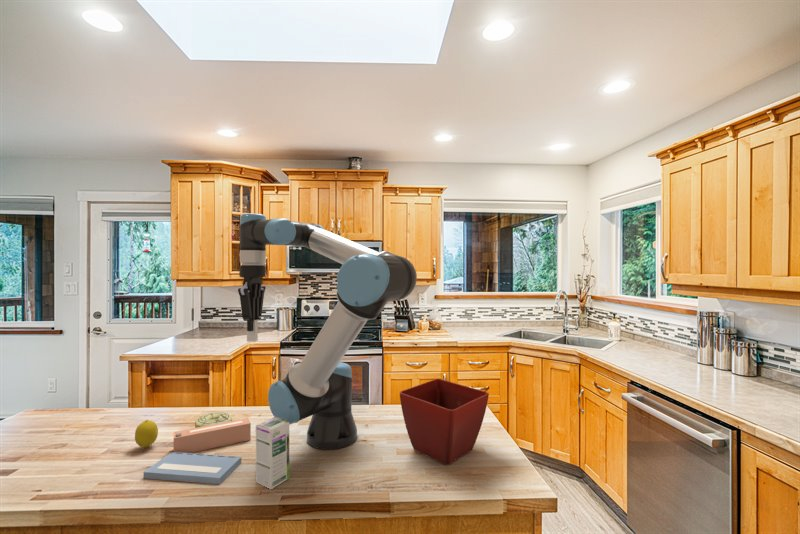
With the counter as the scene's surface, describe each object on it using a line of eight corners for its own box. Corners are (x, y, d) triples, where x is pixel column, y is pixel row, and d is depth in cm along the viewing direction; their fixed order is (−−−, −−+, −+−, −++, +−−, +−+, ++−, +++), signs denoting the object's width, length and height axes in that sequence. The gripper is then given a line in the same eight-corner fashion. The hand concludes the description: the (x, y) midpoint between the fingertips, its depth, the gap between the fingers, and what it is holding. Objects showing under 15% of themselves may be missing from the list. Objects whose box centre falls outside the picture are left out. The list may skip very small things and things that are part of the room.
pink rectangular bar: (248, 433, 118) (248, 416, 118) (250, 439, 114) (250, 422, 114) (173, 449, 108) (173, 430, 108) (173, 456, 104) (173, 437, 104)
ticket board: (241, 462, 101) (241, 456, 101) (219, 484, 91) (219, 477, 91) (172, 457, 103) (172, 451, 103) (143, 478, 93) (143, 471, 93)
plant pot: (489, 449, 110) (490, 392, 110) (451, 476, 96) (452, 410, 96) (437, 429, 123) (437, 377, 123) (396, 450, 109) (397, 392, 109)
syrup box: (271, 490, 89) (271, 429, 89) (254, 482, 92) (255, 423, 92) (289, 478, 94) (290, 420, 94) (274, 471, 97) (274, 415, 97)
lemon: (146, 453, 105) (146, 425, 105) (129, 451, 106) (129, 423, 106) (162, 444, 111) (162, 417, 111) (146, 442, 112) (146, 415, 112)
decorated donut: (234, 430, 121) (234, 418, 121) (197, 438, 115) (197, 426, 115) (228, 418, 130) (228, 407, 129) (193, 426, 123) (193, 414, 123)
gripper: (251, 264, 123) (251, 336, 123) (229, 264, 110) (228, 345, 110) (273, 264, 122) (273, 337, 122) (253, 264, 109) (253, 346, 109)
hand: (252, 341), depth 116 cm, fingers closed
